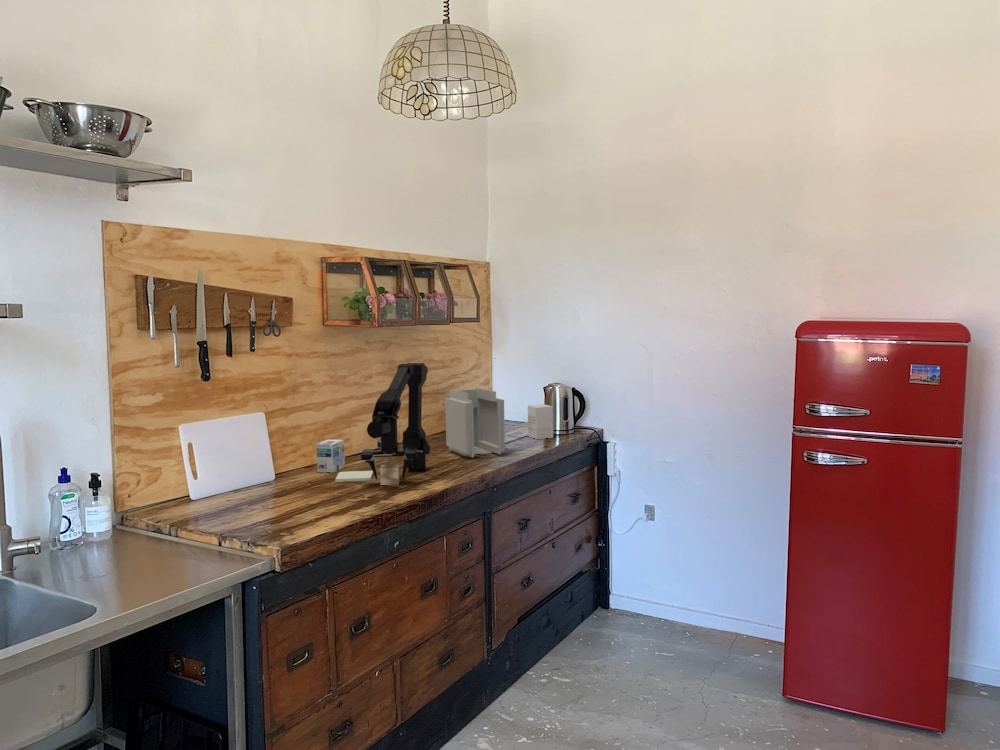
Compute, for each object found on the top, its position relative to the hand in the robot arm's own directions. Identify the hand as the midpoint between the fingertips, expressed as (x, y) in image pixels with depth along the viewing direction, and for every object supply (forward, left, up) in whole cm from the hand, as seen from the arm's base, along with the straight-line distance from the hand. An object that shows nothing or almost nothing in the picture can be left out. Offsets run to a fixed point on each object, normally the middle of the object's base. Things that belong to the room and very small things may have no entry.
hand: (389, 478), depth 251 cm
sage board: (+13, -11, -2) cm, 17 cm away
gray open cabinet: (-32, -50, -2) cm, 59 cm away
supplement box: (-65, -84, -2) cm, 106 cm away
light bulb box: (+23, -26, -2) cm, 35 cm away
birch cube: (0, 0, -2) cm, 2 cm away
